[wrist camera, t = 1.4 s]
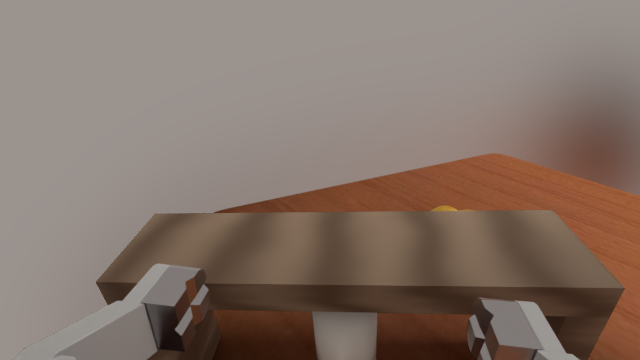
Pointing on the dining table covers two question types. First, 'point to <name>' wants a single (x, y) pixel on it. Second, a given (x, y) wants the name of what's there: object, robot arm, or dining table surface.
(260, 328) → the dining table surface
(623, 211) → the dining table surface
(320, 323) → the white cylinder
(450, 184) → the dining table surface
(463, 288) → the arch
